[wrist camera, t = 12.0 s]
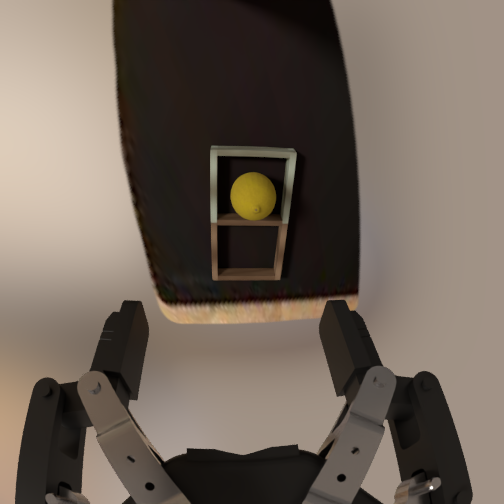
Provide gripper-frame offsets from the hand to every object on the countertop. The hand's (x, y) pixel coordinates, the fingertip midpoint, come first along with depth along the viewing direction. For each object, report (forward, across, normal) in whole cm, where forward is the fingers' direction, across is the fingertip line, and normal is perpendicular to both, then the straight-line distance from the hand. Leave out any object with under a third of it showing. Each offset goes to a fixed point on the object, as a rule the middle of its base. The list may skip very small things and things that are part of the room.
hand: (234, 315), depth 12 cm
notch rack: (+28, -3, +10) cm, 30 cm away
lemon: (+28, -3, +5) cm, 29 cm away
